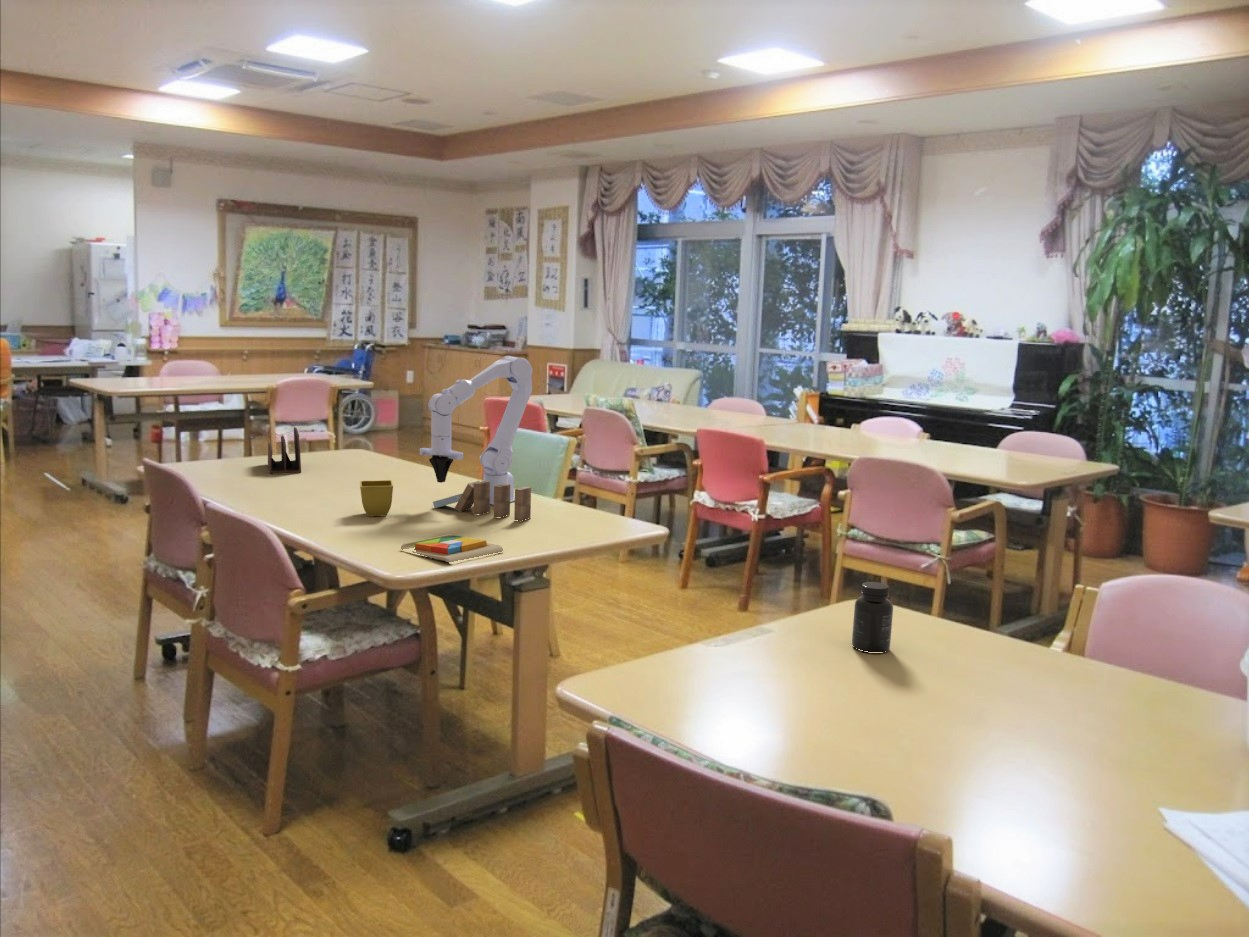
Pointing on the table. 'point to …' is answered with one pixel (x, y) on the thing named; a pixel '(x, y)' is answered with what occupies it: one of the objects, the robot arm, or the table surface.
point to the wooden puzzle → (452, 547)
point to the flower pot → (376, 497)
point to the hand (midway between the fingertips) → (441, 481)
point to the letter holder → (285, 458)
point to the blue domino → (447, 501)
